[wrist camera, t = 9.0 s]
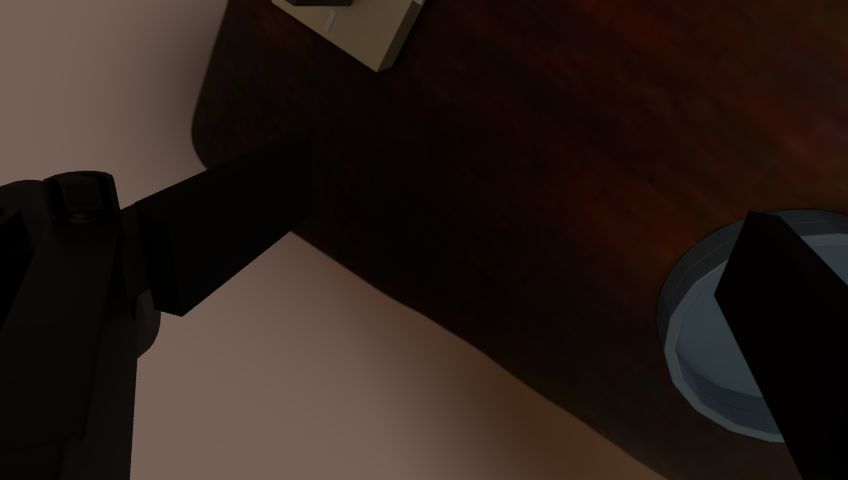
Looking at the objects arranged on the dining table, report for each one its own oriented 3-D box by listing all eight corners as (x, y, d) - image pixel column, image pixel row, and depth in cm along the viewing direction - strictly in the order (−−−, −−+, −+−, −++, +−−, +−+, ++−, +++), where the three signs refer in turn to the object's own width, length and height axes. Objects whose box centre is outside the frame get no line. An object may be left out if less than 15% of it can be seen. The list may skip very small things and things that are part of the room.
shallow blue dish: (681, 413, 39) (692, 453, 36) (633, 241, 35) (640, 268, 31) (929, 388, 33) (971, 432, 30) (912, 177, 29) (960, 200, 25)
